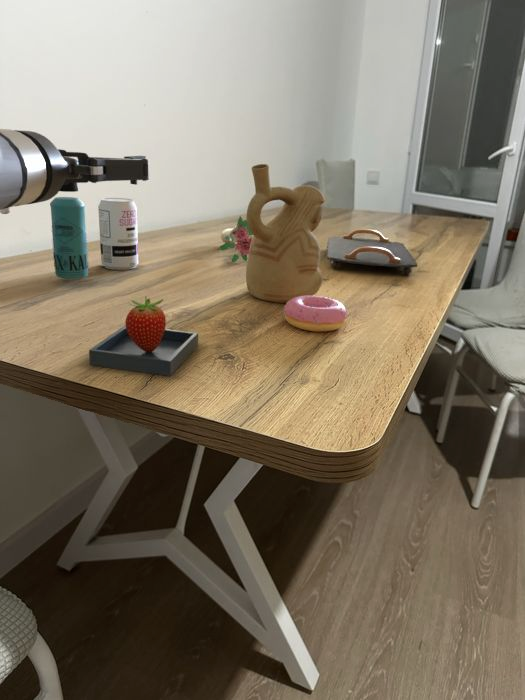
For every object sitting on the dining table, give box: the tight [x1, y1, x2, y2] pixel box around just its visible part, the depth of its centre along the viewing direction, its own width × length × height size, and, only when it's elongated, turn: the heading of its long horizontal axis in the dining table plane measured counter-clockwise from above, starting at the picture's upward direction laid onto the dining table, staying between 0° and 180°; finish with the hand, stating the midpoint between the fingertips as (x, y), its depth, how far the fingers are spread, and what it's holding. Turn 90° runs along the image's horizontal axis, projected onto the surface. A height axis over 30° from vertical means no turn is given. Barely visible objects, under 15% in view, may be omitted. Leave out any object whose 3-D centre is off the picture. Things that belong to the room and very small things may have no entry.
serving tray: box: [326, 228, 418, 276], centre depth 144 cm, size 39×23×6 cm, turn 172°
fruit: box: [124, 295, 167, 352], centre depth 70 cm, size 5×5×8 cm
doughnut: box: [282, 295, 348, 332], centre depth 88 cm, size 11×11×4 cm
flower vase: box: [217, 215, 254, 264], centre depth 136 cm, size 12×12×35 cm
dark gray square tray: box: [88, 324, 199, 377], centre depth 72 cm, size 11×11×2 cm
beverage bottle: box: [49, 183, 90, 280], centre depth 101 cm, size 6×7×20 cm
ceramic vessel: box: [245, 163, 326, 304], centre depth 101 cm, size 17×20×25 cm
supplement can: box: [97, 197, 139, 271], centre depth 117 cm, size 8×8×15 cm
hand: (97, 162), depth 74 cm, fingers open, 13 cm apart
